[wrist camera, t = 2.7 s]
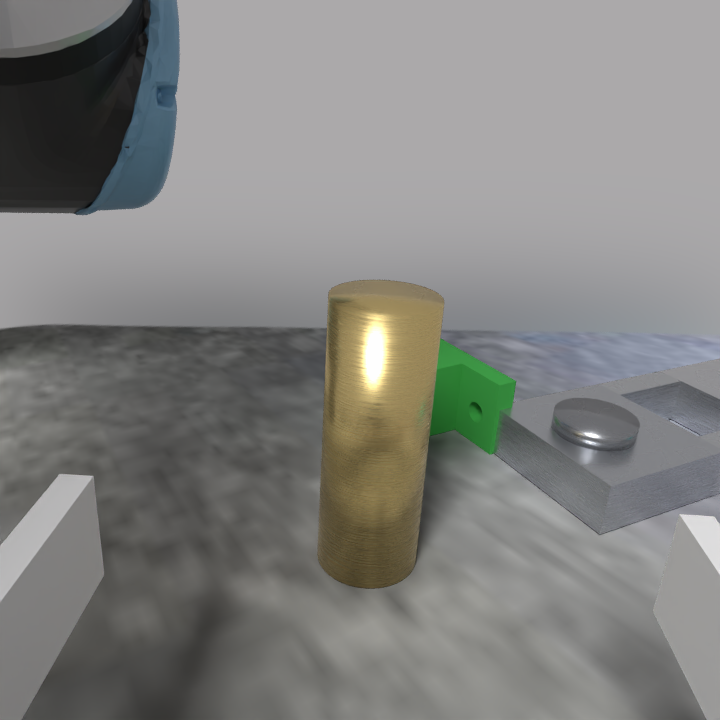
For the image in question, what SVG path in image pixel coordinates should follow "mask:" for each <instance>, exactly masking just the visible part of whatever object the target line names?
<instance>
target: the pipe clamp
mask: <svg viewBox="0 0 720 720" xmlns="http://www.w3.org/2000/svg"><path fill="white" fill-rule="evenodd" d="M515 385H516V381H515V380H513V379H511V378H510V377H508V376H506V375H504V374H502V373H501V372H499V371H497V370H495V369H494V368H492V367H490V366H488V365H487V364H485V363H483V362H481V361H479V360H478V359H476V358H474V357H472V356H471V355H469V354H467V353H465V352H463V351H462V350H460V349H458V348H456V347H455V346H453V345H451V344H449V343H447V342H446V341H444V340H442V339H440V345H439V354H438V363H437V372H436V381H435V390H434V399H433V408H432V417H431V426H430V435H429V436H432V435H436V434H440V433H443V432H447V431H451V430H456V431H458V432H459V433H460V434H462V435H463V436H465V437H466V438H467V439H469V440H470V441H472V442H473V443H475V444H476V445H477V446H479V447H480V448H482V449H483V450H484V451H486V452H487V453H489V454H493V452H494V446H495V439H496V433H497V426H498V420H499V413H500V410H503V409H507V408H511V407H512V406H513V399H514V392H515Z"/></svg>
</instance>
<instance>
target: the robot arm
mask: <svg viewBox="0 0 720 720" xmlns="http://www.w3.org/2000/svg"><path fill="white" fill-rule="evenodd" d="M178 75H179V18H178V8H177V0H0V212H12V213H17V212H18V213H22V212H23V213H74V214H76V215H88V214H91V213H93V212H96V211H97V210H116V209H134V208H139V207H142V206H144V205H146V204H148V203H150V202H151V201H152V200H154V199H155V198H156V197H157V195H158V194H159V193H160V191H161V189H162V188H163V186H164V183H165V181H166V178H167V174H168V171H169V166H170V162H171V157H172V151H173V144H174V136H175V128H176V114H177V105H176V99H175V94H176V92H177V83H178ZM103 576H104V567H103V558H102V549H101V540H100V531H99V521H98V512H97V503H96V494H95V485H94V476H85V475H70V474H59V475H58V477H57V478H56V479H55V480H54V481H53V483H52V484H51V485H50V486H49V487H48V489H47V490H46V491H45V492H44V493H43V495H42V496H41V497H40V498H39V500H38V501H37V502H36V503H35V504H34V506H33V507H32V508H31V509H30V510H29V512H28V513H27V514H26V515H25V516H24V518H23V519H22V520H21V521H20V522H19V524H18V525H17V526H16V527H15V528H14V530H13V531H12V532H11V533H10V534H9V536H8V537H7V538H6V539H5V541H4V542H3V543H2V544H1V545H0V720H22V718H23V716H24V715H25V713H26V711H27V709H28V708H29V706H30V704H31V702H32V701H33V699H34V697H35V695H36V694H37V692H38V690H39V688H40V687H41V685H42V683H43V681H44V680H45V678H46V676H47V674H48V673H49V671H50V669H51V667H52V666H53V664H54V662H55V660H56V659H57V657H58V655H59V653H60V652H61V650H62V648H63V646H64V645H65V643H66V641H67V639H68V638H69V636H70V634H71V632H72V631H73V629H74V627H75V625H76V624H77V622H78V620H79V618H80V617H81V615H82V613H83V611H84V609H85V608H86V606H87V604H88V602H89V601H90V599H91V597H92V595H93V594H94V592H95V590H96V588H97V587H98V585H99V583H100V581H101V580H102V578H103ZM653 613H654V615H655V617H656V619H657V621H658V623H659V625H660V627H661V629H662V631H663V633H664V635H665V637H666V639H667V641H668V643H669V645H670V647H671V649H672V651H673V653H674V655H675V657H676V659H677V661H678V663H679V665H680V667H681V669H682V671H683V673H684V675H685V677H686V679H687V681H688V683H689V685H690V687H691V689H692V691H693V693H694V695H695V697H696V699H697V701H698V703H699V705H700V707H701V709H702V711H703V713H704V715H705V718H706V720H720V524H719V523H718V521H717V520H716V519H715V517H713V516H697V515H682V514H679V517H678V521H677V525H676V529H675V532H674V536H673V540H672V543H671V547H670V551H669V554H668V558H667V562H666V565H665V569H664V573H663V576H662V580H661V584H660V588H659V591H658V595H657V599H656V602H655V606H654V610H653Z"/></svg>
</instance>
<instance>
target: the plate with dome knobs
mask: <svg viewBox="0 0 720 720" xmlns="http://www.w3.org/2000/svg"><path fill="white" fill-rule="evenodd" d="M670 419H672V420H674V421H675V422H677V423H679V424H681V425H683V426H685V427H687V428H689V429H691V430H692V431H694V432H696V433H698V434H700V435H702V436H699V437H698V436H696V435H694V434H692V433H690V432H688V431H686V430H685V429H683V428H681V427H679V426H677V425H675V424H673V423H671V422H670V421H668V420H670ZM493 453H494V454H496V455H497V456H498V457H500V458H501V459H502V460H504V461H505V462H506V463H507V464H509V465H510V466H511V467H513V468H514V469H515V470H517V471H518V472H519V473H520V474H522V475H523V476H524V477H526V478H527V479H528V480H530V481H531V482H532V483H533V484H535V485H536V486H537V487H539V488H540V489H541V490H543V491H544V492H545V493H546V494H548V495H549V496H550V497H552V498H553V499H554V500H556V501H557V502H558V503H560V504H561V505H562V506H563V507H565V508H566V509H567V510H569V511H570V512H571V513H573V514H574V515H575V516H576V517H578V518H579V519H580V520H582V521H583V522H584V523H586V524H587V525H588V526H589V527H591V528H592V529H593V530H595V531H596V532H597V533H599V534H603V533H606V532H609V531H612V530H615V529H617V528H620V527H623V526H626V525H629V524H632V523H635V522H638V521H641V520H644V519H646V518H649V517H652V516H655V515H658V514H661V513H664V512H667V511H670V510H673V509H676V508H678V507H681V506H684V505H687V504H690V503H693V502H696V501H699V500H702V499H705V498H707V497H710V496H713V495H716V494H719V493H720V359H716V360H711V361H707V362H702V363H697V364H692V365H688V366H683V367H678V368H673V369H669V370H664V371H659V372H654V373H649V374H645V375H640V376H635V377H630V378H626V379H621V380H616V381H611V382H607V383H602V384H597V385H592V386H588V387H583V388H578V389H573V390H568V391H564V392H559V393H554V394H549V395H545V396H540V397H535V398H530V399H526V400H521V401H516V402H513V406H512V407H511V408H507V409H503V410H500V413H499V420H498V426H497V433H496V439H495V446H494V452H493Z"/></svg>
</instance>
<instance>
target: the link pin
mask: <svg viewBox="0 0 720 720" xmlns="http://www.w3.org/2000/svg"><path fill="white" fill-rule="evenodd" d="M443 309H444V299H443V298H442V296H441V295H439V294H438V293H437V292H435V291H433V290H431V289H428V288H426V287H422V286H419V285H415V284H411V283H405V282H398V281H390V280H360V281H352V282H347V283H342V284H339V285H337V286H335V287H333V288H332V289H331V290H330V291H329V294H328V318H327V342H326V366H325V389H324V413H323V437H322V461H321V485H320V509H319V532H318V560H319V563H320V565H321V566H322V568H323V569H324V570H325V572H327V573H328V574H329V575H330V576H331V577H333V578H334V579H336V580H338V581H339V582H342V583H344V584H347V585H350V586H354V587H359V588H381V587H387V586H390V585H393V584H396V583H398V582H400V581H402V580H403V579H404V578H406V577H407V576H408V575H409V574H410V573H411V571H412V570H413V568H414V566H415V562H416V553H417V543H418V534H419V525H420V516H421V507H422V498H423V489H424V480H425V471H426V462H427V453H428V444H429V435H430V426H431V417H432V408H433V399H434V390H435V381H436V372H437V363H438V354H439V345H440V336H441V327H442V318H443Z"/></svg>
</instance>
